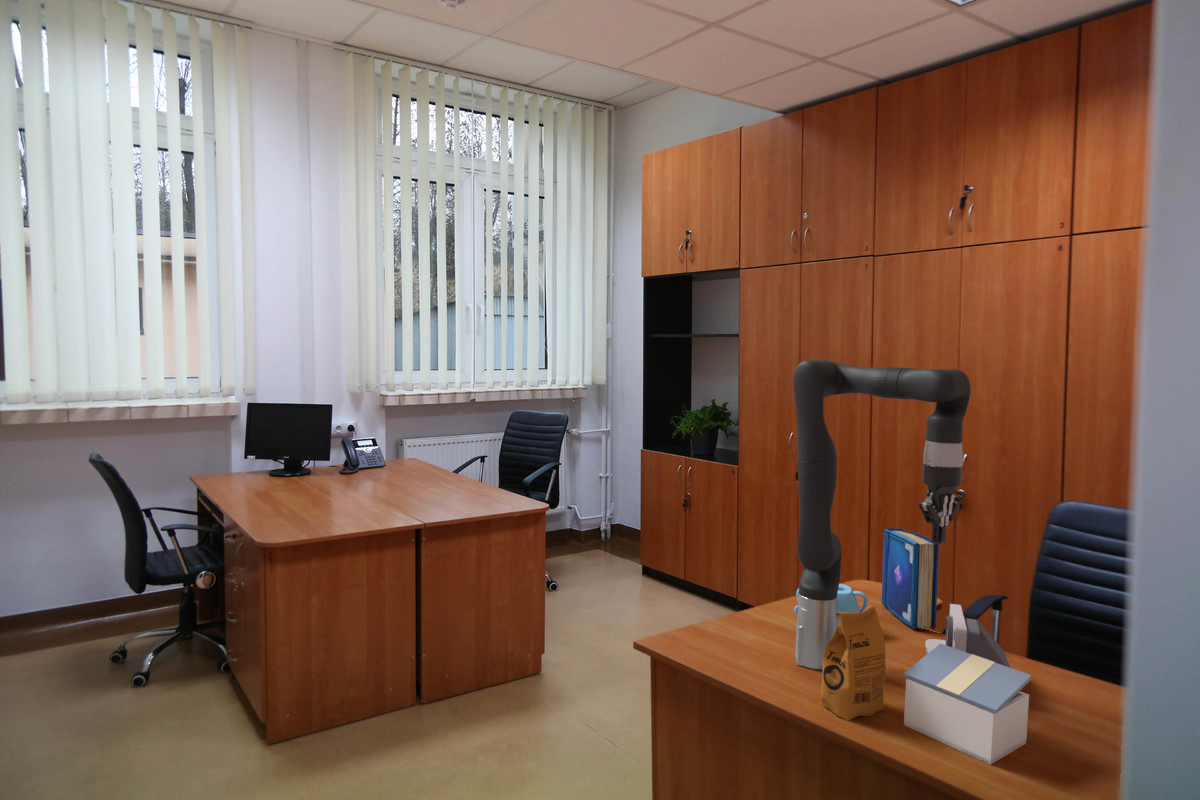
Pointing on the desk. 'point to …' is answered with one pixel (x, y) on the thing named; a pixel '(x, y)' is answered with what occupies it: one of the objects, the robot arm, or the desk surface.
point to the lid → (968, 677)
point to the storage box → (967, 722)
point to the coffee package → (854, 666)
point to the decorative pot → (845, 601)
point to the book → (910, 577)
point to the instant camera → (969, 638)
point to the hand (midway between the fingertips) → (938, 542)
